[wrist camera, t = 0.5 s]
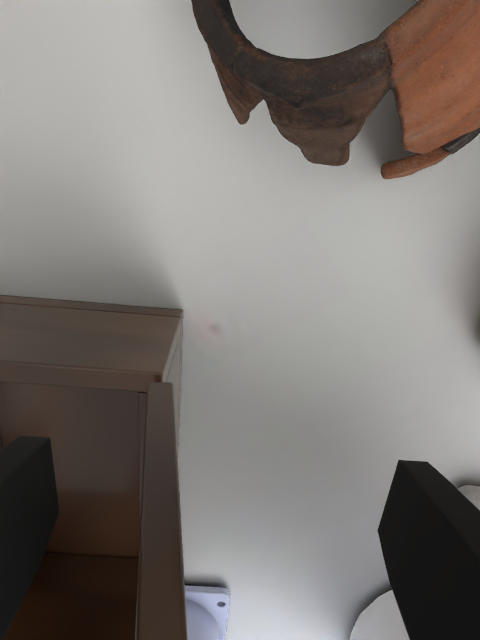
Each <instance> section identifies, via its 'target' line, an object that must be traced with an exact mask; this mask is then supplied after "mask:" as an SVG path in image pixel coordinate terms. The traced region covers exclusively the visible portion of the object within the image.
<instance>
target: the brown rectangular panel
mask: <svg viewBox="0 0 480 640" xmlns="http://www.w3.org/2000/svg"><path fill="white" fill-rule="evenodd" d="M135 640H188V637H187V619H186V601H185V583H184V565H183V547H182V529H181V511H180V493H179V475H178V457H177V439H176V421H175V403H174V385H173V383H171V382H156V383H148V385H147V395H146V416H145V437H144V458H143V480H142V501H141V522H140V543H139V564H138V586H137V607H136V628H135Z"/></svg>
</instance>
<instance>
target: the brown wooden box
mask: <svg viewBox="0 0 480 640" xmlns="http://www.w3.org/2000/svg"><path fill="white" fill-rule="evenodd" d="M182 334H183V310H178V309H166V308H153V307H141V306H128V305H116V304H104V303H91V302H79V301H67V300H54V299H42V298H29V297H17V296H5V295H0V449H2V448H3V447H5V446H6V445H7V444H9V443H10V442H11V441H13V440H14V439H16V438H17V437H19V436H20V435H21V436H36V437H50V440H51V448H52V456H53V464H54V472H55V480H56V488H57V496H58V505H59V514H58V517H57V519H56V522H55V525H54V528H53V531H52V534H51V537H50V539H49V542H48V545H47V547H46V550H45V553H44V555H43V558H42V561H41V563H40V565H39V567H38V569H37V571H36V574H35V576H34V578H33V580H32V582H31V584H30V586H29V588H28V590H27V592H26V594H25V596H24V598H23V600H22V602H21V604H20V606H19V608H18V610H17V612H16V614H15V616H14V618H13V620H12V622H11V624H10V626H9V628H8V631H7V633H6V635H5V637H4V639H3V640H135V628H136V607H137V586H138V564H139V543H140V522H141V501H142V480H143V458H144V437H145V416H146V395H147V385H148V383H156V382H171V383H173V385H174V403H175V421H176V439H177V457H178V447H179V418H180V390H181V362H182Z"/></svg>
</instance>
